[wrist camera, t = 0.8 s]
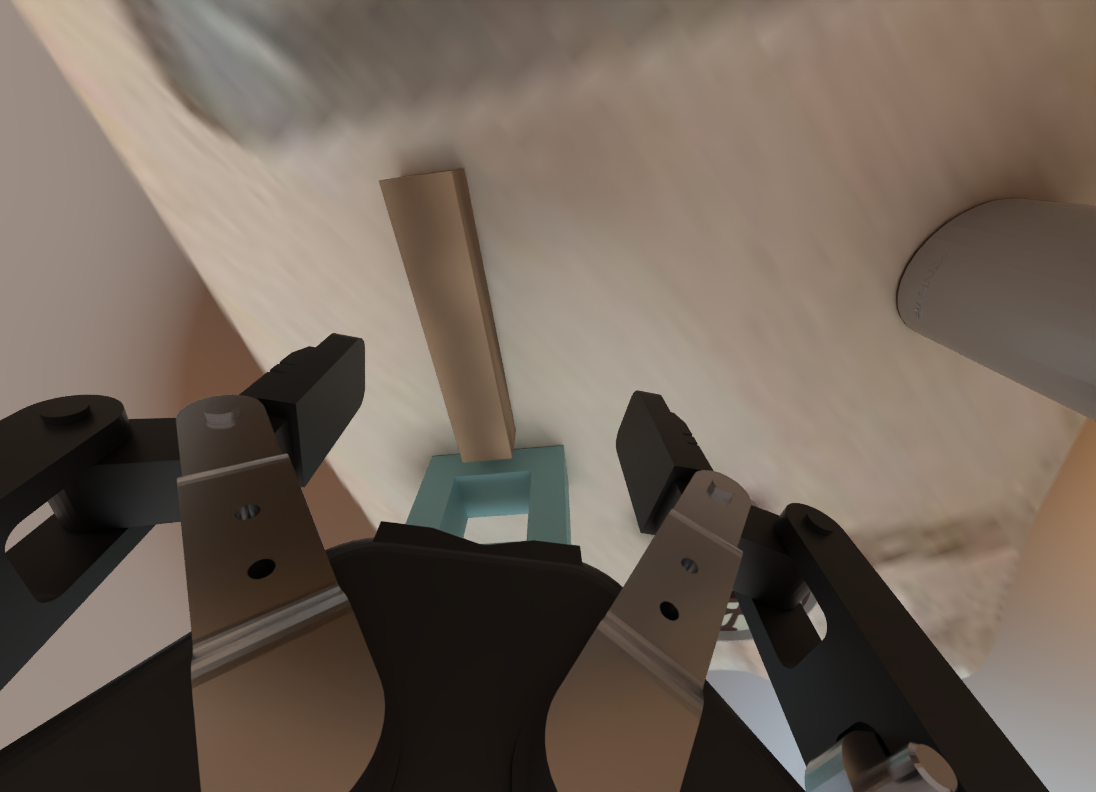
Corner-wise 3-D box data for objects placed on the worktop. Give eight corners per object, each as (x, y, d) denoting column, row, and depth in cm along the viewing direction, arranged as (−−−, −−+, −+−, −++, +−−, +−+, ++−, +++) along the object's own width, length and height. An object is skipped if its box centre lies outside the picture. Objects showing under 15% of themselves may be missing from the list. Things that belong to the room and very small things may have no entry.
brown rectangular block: (465, 168, 25) (451, 171, 21) (515, 428, 35) (512, 458, 32) (402, 176, 25) (378, 180, 21) (471, 432, 35) (462, 462, 32)
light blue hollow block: (563, 445, 35) (568, 579, 24) (568, 486, 38) (574, 624, 27) (432, 456, 36) (379, 590, 25) (445, 495, 39) (403, 633, 28)
